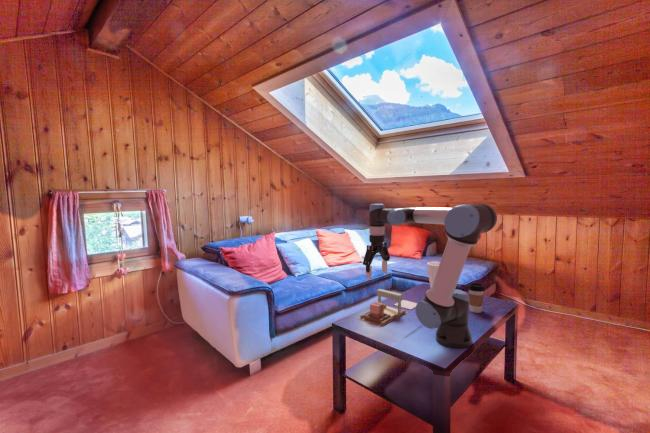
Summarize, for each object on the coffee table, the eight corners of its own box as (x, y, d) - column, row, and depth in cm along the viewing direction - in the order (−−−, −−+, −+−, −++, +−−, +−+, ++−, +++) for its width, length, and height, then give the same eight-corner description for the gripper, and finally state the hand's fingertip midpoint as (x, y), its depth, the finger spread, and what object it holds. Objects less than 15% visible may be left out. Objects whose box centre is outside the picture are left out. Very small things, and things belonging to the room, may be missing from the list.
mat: (410, 310, 183) (410, 309, 183) (393, 305, 191) (393, 304, 191) (420, 304, 191) (420, 304, 191) (403, 300, 199) (403, 299, 199)
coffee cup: (465, 311, 180) (465, 284, 179) (470, 306, 186) (471, 281, 185) (481, 315, 175) (481, 287, 173) (486, 310, 181) (486, 284, 179)
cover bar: (399, 314, 170) (399, 295, 169) (376, 307, 179) (376, 290, 178) (402, 312, 172) (402, 294, 171) (380, 305, 182) (380, 288, 181)
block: (378, 321, 164) (378, 306, 164) (370, 319, 168) (370, 304, 167) (383, 318, 168) (383, 303, 167) (375, 316, 171) (375, 301, 171)
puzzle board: (380, 330, 158) (380, 323, 158) (357, 322, 168) (357, 315, 167) (408, 314, 176) (408, 308, 176) (386, 308, 186) (386, 302, 186)
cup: (434, 293, 211) (434, 260, 209) (449, 297, 202) (450, 263, 200) (422, 296, 205) (423, 263, 203) (438, 301, 195) (438, 266, 193)
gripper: (384, 231, 175) (384, 269, 177) (355, 236, 158) (355, 279, 160) (396, 232, 170) (396, 272, 172) (367, 238, 152) (367, 282, 154)
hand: (376, 275), depth 166 cm, fingers open, 13 cm apart
